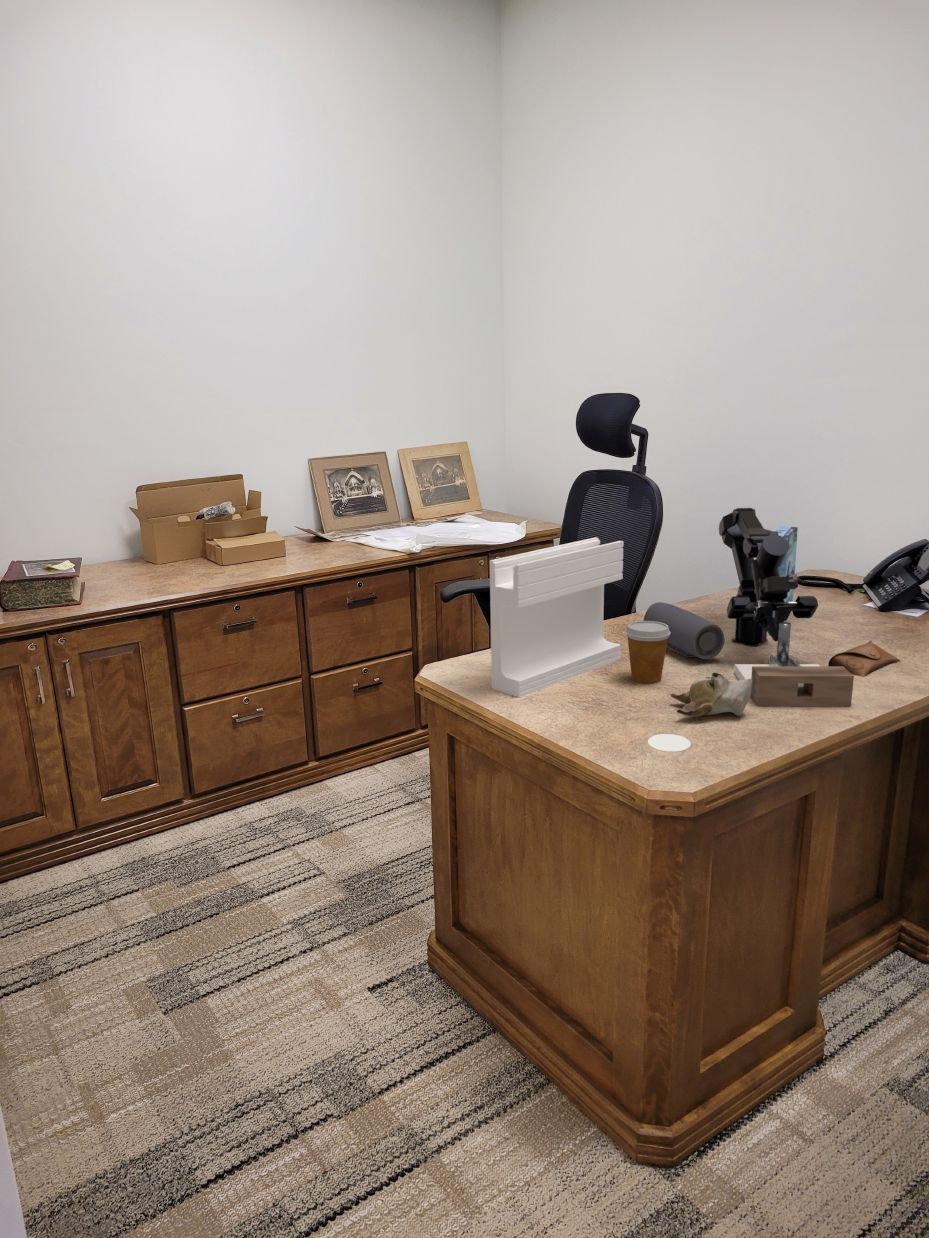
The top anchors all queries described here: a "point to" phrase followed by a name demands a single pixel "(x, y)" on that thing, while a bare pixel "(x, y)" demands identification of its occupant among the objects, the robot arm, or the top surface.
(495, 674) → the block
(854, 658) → the sunglasses case
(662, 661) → the disposable coffee cup
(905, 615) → the top surface
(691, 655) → the bluetooth speaker
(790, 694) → the door jamb
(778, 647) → the bolt
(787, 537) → the light blue flat box
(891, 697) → the top surface
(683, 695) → the ceramic sculpture
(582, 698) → the top surface
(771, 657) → the door panel
